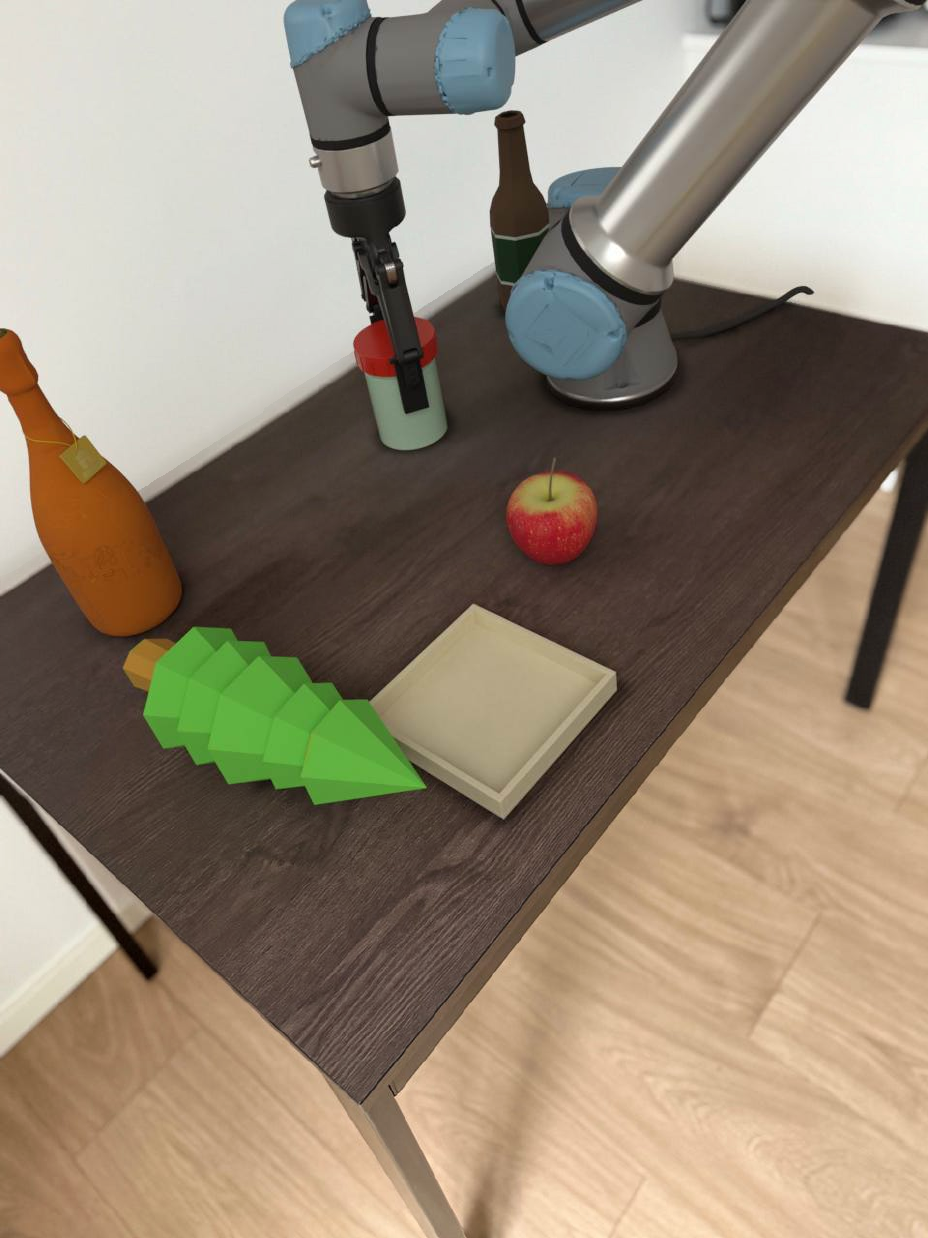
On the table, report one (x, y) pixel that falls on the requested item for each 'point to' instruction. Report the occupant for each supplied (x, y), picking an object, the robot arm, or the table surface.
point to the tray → (491, 707)
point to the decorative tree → (265, 718)
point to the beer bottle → (515, 206)
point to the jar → (414, 426)
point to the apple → (552, 516)
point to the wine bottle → (88, 513)
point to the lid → (389, 347)
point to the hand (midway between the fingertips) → (404, 386)
